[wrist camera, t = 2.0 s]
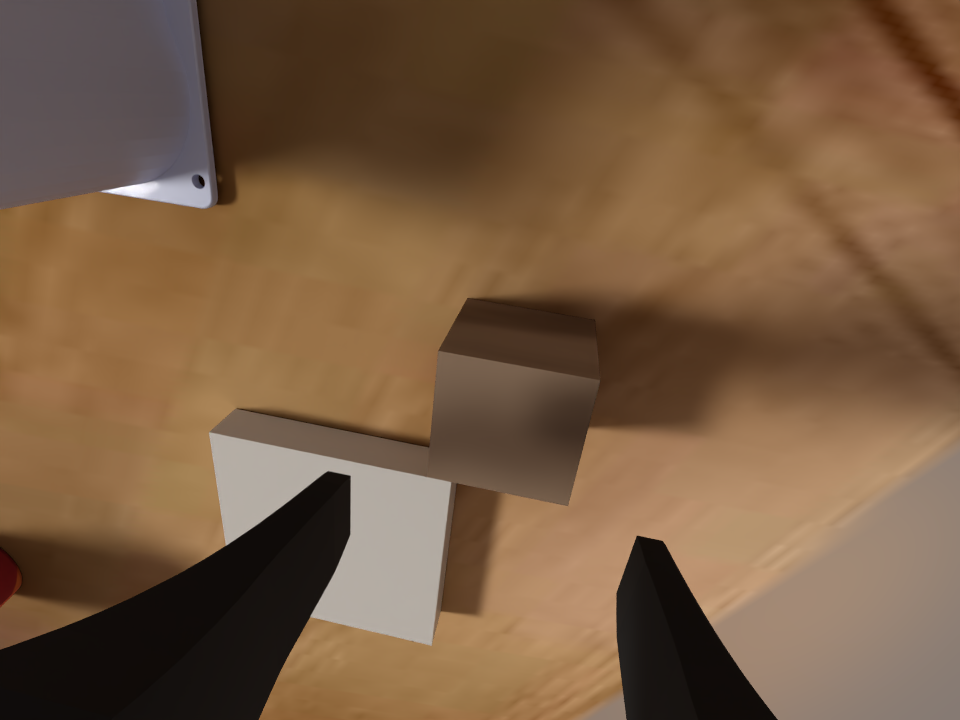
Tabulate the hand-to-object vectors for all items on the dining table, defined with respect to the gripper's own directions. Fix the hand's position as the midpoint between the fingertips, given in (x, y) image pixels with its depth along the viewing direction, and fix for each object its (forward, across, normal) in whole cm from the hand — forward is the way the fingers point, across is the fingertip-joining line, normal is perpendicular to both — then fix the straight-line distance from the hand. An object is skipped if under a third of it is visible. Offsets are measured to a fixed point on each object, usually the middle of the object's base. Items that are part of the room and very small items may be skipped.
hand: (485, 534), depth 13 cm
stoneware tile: (+9, +8, +10) cm, 16 cm away
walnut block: (+10, 0, 0) cm, 10 cm away
